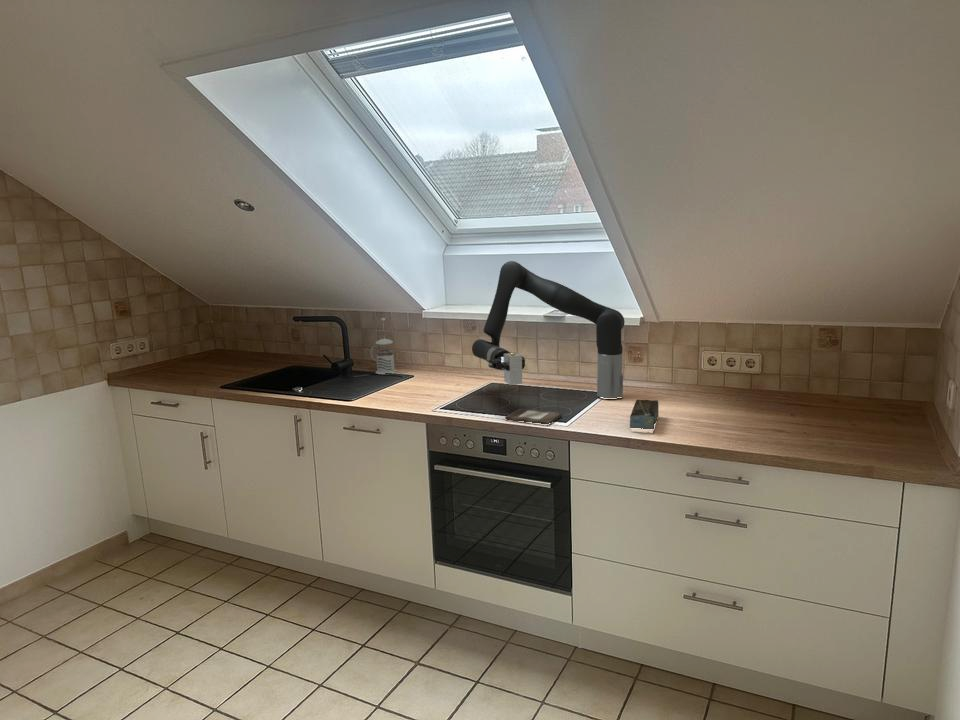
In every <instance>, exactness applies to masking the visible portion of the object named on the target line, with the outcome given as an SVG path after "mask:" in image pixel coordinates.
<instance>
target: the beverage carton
mask: <svg viewBox="0 0 960 720" xmlns="http://www.w3.org/2000/svg"><path fill="white" fill-rule="evenodd" d="M633 405H634V406H633V407H632V411H631V413H630V415H629V419H630V420H629V429H630V428H641V429H642V428H643V429H654V424H655V423H656V421H657V422H658V420H657V417H658V418H659V400H658V399H657V400H656V399H655V400H654V399H653V400H652V399H651V400H650V399H636V400H635V403H634V404H633Z"/></svg>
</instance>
